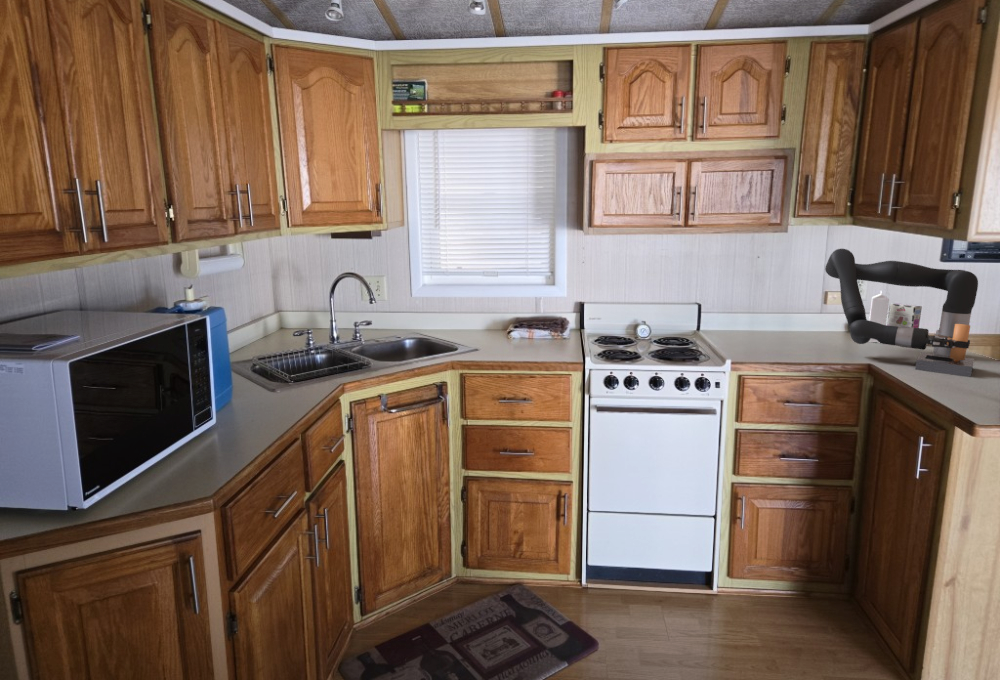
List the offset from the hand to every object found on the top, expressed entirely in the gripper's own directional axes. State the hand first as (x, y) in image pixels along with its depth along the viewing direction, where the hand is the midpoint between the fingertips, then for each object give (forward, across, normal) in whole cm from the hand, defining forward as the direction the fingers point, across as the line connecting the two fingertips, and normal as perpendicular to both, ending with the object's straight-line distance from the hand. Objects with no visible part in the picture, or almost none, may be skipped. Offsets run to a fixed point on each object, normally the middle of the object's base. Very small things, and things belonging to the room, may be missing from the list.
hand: (968, 344), depth 225 cm
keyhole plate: (-6, 0, +10) cm, 11 cm away
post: (-3, 0, +10) cm, 10 cm away
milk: (-33, +41, +10) cm, 54 cm away
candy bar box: (-24, +47, +10) cm, 54 cm away
